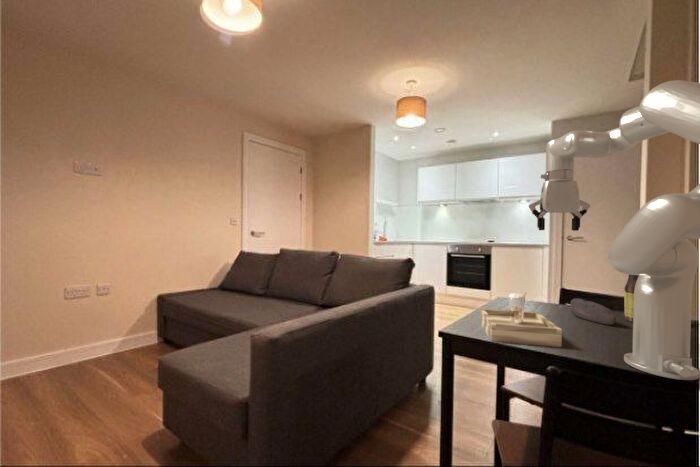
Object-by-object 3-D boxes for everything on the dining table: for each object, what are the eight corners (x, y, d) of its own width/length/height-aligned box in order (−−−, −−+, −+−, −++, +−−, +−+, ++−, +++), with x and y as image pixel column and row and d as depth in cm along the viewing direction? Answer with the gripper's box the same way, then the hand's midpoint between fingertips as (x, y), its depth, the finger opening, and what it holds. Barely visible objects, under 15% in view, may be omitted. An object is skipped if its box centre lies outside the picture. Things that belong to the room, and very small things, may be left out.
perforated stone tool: (621, 327, 104) (622, 307, 104) (609, 328, 103) (609, 307, 103) (579, 315, 118) (579, 297, 118) (568, 315, 117) (568, 297, 117)
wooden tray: (561, 349, 86) (561, 329, 85) (491, 343, 90) (491, 324, 90) (537, 328, 103) (538, 312, 103) (480, 324, 107) (480, 308, 107)
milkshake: (520, 326, 93) (521, 293, 92) (505, 321, 97) (505, 289, 97) (530, 324, 94) (531, 291, 94) (514, 319, 99) (515, 288, 99)
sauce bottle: (638, 319, 114) (639, 265, 113) (653, 324, 108) (654, 267, 107) (618, 318, 114) (620, 264, 114) (632, 323, 108) (634, 266, 108)
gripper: (533, 176, 99) (532, 230, 99) (596, 174, 95) (595, 230, 95) (526, 180, 106) (525, 230, 106) (584, 178, 102) (582, 230, 102)
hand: (558, 230), depth 100 cm, fingers open, 9 cm apart
